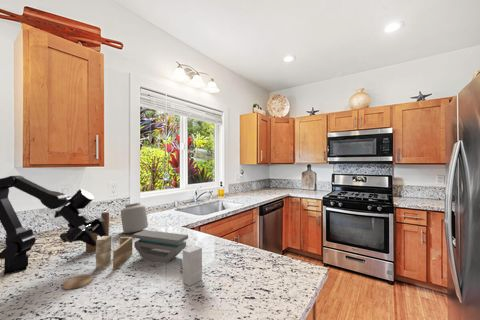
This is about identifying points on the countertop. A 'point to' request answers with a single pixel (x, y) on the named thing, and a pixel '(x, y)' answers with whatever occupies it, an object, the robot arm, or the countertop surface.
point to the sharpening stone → (159, 245)
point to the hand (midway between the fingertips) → (101, 242)
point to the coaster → (77, 282)
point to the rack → (122, 252)
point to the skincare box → (192, 265)
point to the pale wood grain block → (103, 252)
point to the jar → (134, 218)
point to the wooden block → (106, 223)
